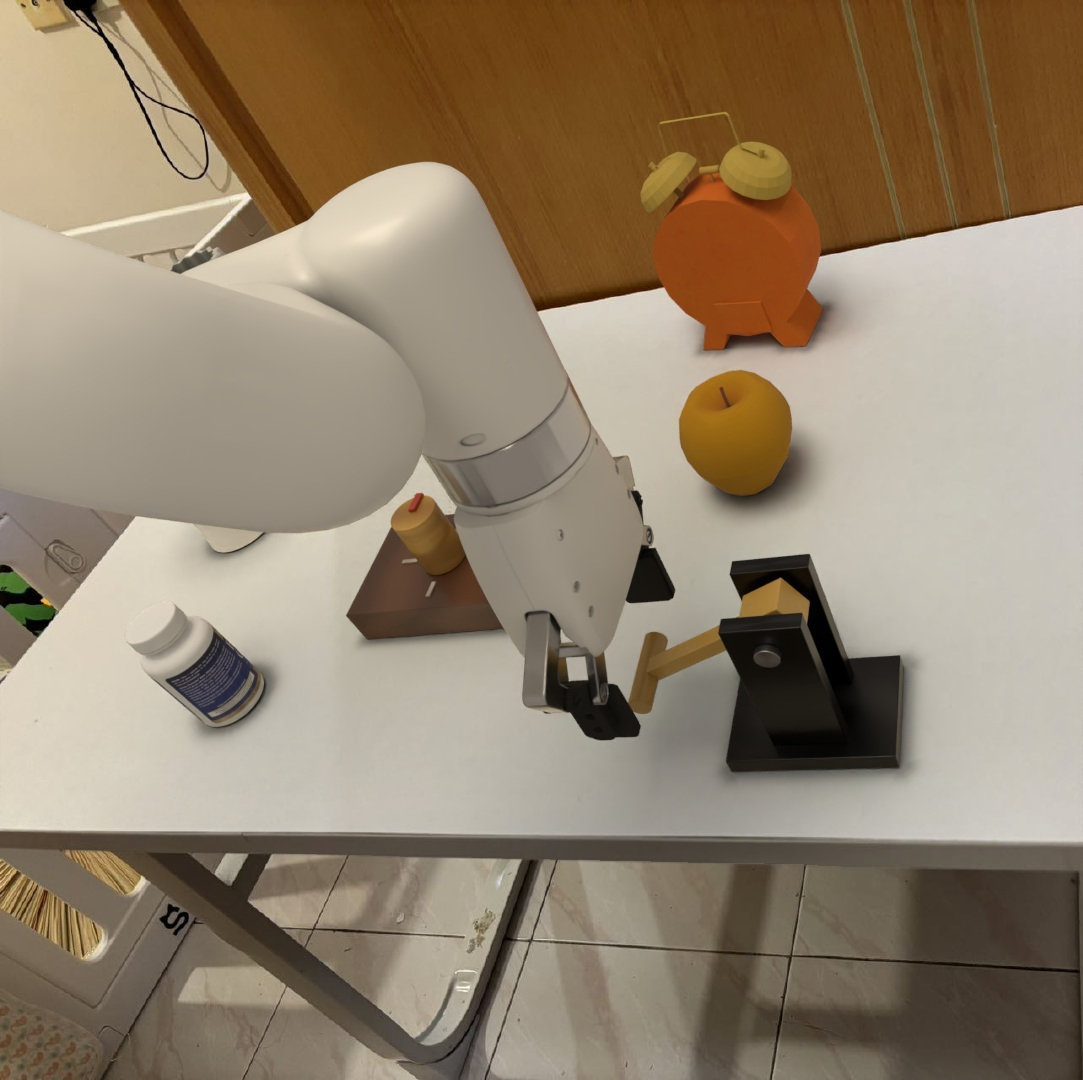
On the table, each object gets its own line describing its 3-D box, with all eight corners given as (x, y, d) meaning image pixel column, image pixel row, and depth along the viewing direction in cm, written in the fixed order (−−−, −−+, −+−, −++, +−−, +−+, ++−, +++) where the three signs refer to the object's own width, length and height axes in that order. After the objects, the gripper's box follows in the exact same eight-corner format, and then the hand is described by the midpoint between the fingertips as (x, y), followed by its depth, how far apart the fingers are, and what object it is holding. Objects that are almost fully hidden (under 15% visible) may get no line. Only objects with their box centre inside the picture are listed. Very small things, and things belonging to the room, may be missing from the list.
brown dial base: (366, 639, 79) (344, 614, 77) (412, 545, 85) (392, 519, 83) (524, 627, 74) (505, 599, 72) (559, 528, 81) (543, 500, 79)
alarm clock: (842, 304, 90) (783, 84, 77) (822, 346, 87) (757, 124, 73) (710, 311, 96) (634, 109, 83) (687, 352, 93) (604, 147, 79)
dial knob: (457, 573, 76) (422, 525, 72) (417, 577, 77) (380, 529, 74) (473, 538, 78) (439, 489, 75) (434, 542, 80) (399, 494, 76)
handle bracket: (731, 772, 60) (663, 652, 52) (747, 675, 65) (687, 552, 57) (899, 768, 57) (854, 639, 49) (903, 666, 61) (863, 534, 54)
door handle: (646, 721, 59) (616, 701, 58) (662, 652, 63) (634, 632, 61) (803, 655, 52) (772, 630, 51) (812, 581, 55) (784, 557, 54)
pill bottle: (279, 671, 79) (198, 591, 73) (243, 729, 76) (155, 651, 69) (227, 671, 81) (144, 593, 75) (190, 728, 78) (99, 652, 71)
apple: (823, 492, 74) (792, 399, 68) (715, 534, 75) (676, 446, 69) (792, 427, 81) (761, 336, 75) (693, 466, 81) (655, 380, 75)
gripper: (495, 340, 54) (610, 558, 66) (367, 581, 43) (534, 795, 54) (623, 318, 52) (720, 548, 63) (525, 567, 40) (665, 794, 51)
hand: (634, 661), depth 59 cm, fingers open, 9 cm apart
